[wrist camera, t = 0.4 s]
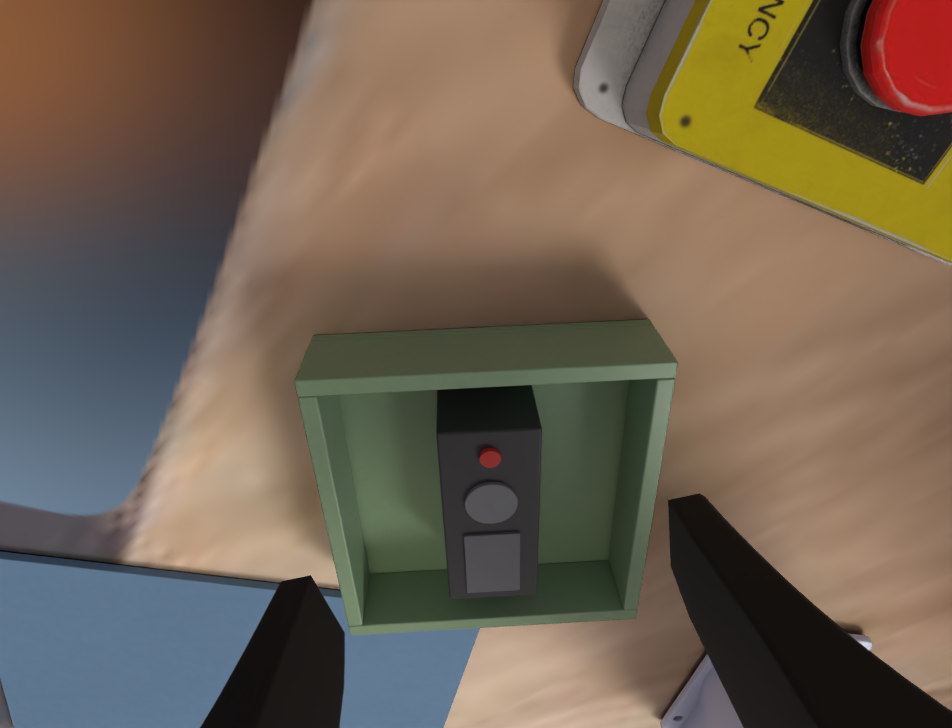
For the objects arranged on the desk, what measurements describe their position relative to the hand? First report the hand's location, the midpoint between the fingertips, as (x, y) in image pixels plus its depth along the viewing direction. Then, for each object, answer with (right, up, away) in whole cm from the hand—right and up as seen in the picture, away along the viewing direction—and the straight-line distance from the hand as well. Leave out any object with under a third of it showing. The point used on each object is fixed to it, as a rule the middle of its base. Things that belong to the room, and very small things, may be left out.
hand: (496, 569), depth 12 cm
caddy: (0, 0, +12) cm, 12 cm away
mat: (-12, -11, +18) cm, 24 cm away
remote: (0, 0, +11) cm, 11 cm away
